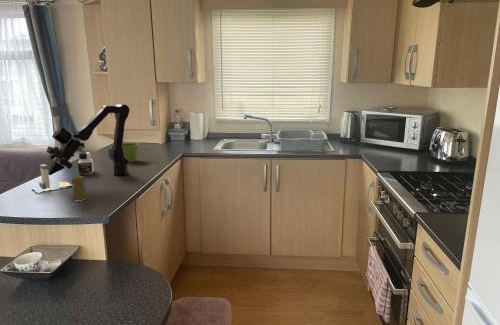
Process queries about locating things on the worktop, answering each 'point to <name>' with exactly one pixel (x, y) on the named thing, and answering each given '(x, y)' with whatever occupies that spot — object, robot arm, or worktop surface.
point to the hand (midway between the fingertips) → (48, 174)
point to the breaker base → (62, 184)
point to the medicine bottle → (85, 163)
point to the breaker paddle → (45, 175)
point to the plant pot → (130, 151)
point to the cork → (78, 188)
